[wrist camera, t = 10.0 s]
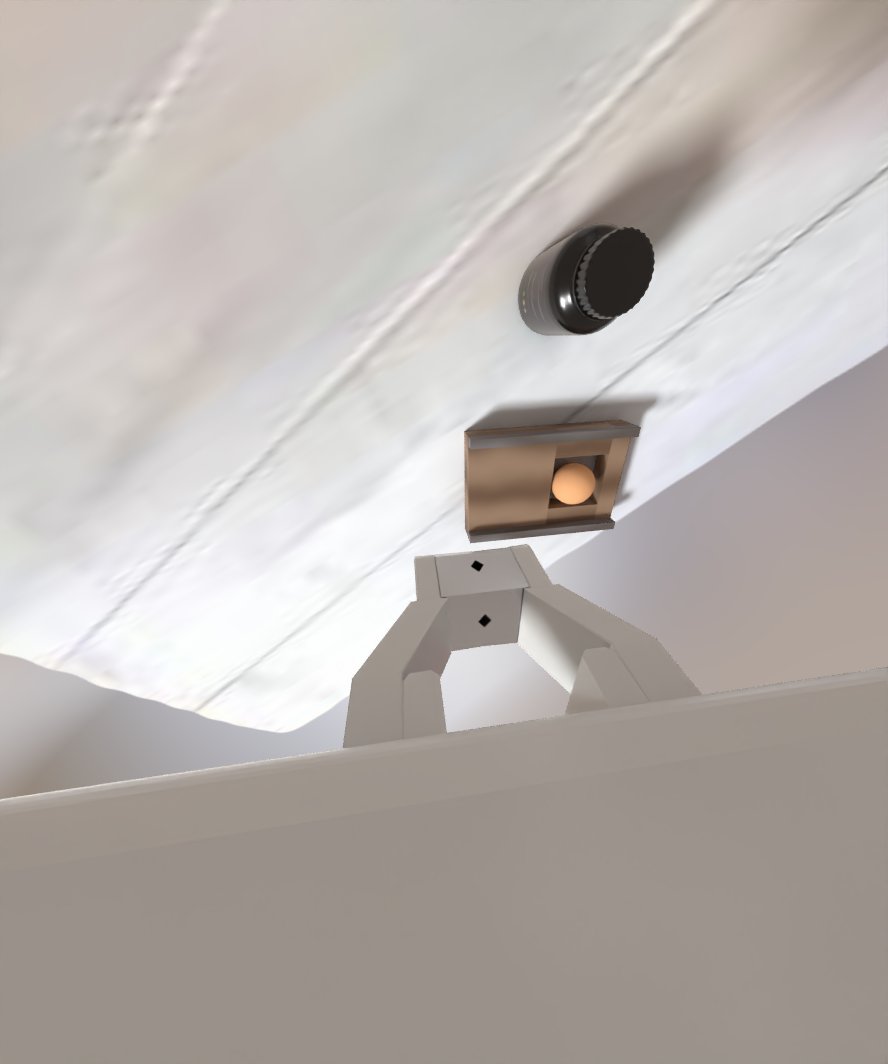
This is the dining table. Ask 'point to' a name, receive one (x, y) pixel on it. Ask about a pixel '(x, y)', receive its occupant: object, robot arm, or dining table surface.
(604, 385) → the dining table surface
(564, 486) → the ball
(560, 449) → the lane
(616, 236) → the supplement bottle
